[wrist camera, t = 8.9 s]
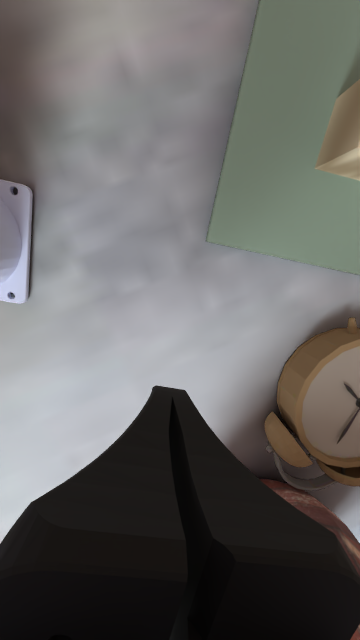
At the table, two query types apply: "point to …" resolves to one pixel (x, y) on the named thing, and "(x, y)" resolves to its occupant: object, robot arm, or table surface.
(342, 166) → the birch block
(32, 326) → the table surface
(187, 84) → the table surface
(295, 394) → the alarm clock
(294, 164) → the rubber mat
